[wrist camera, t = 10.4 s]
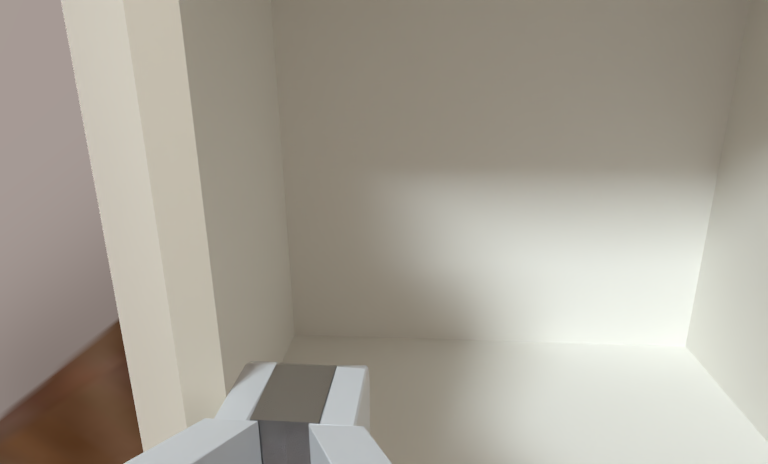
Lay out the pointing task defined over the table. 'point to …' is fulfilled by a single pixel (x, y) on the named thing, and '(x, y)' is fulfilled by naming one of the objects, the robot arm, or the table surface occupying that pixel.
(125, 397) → the table surface
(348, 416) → the robot arm
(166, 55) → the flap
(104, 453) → the table surface
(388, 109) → the carton
